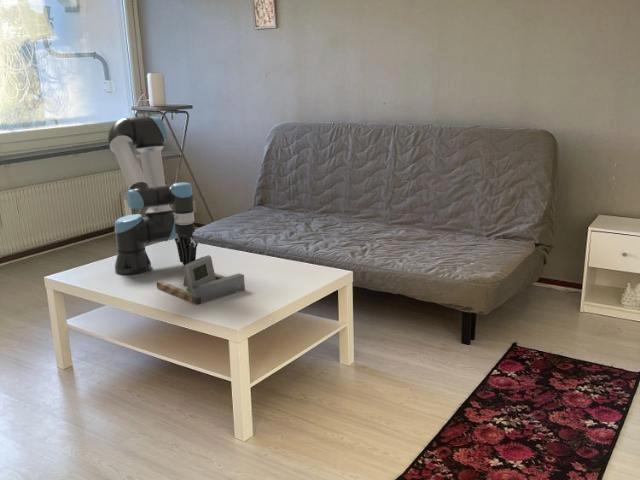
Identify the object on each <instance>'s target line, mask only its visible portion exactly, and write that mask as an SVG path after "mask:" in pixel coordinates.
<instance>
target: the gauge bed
mask: <svg viewBox="0 0 640 480" xmlns="http://www.w3.org/2000/svg"><path fill="white" fill-rule="evenodd" d="M215 277H216V280H218V279H221V278H225V277H226V276H224V275H221V274H218V273H215ZM242 286H243V285H242ZM156 288H157V289H158V290H161V291H163V292H166V293H168V294H169V295H170V294H171V295H174V296H175V297H178V298H179V299H183V300H185V301H187V302H189V303H192V304H195V305H196V304H197V305H200V304H201V303H200V302H201V298H200V297H198V298H195V297H193V298H192V295H191V292H189V290H185V289H184V288H180V287H178V286H175V285H173V284H170V283H168V282H166V281H163V280H158V281H156ZM243 289H244V288H242V291H245V290H246V288H245V289H244V290H243ZM192 299H193V300H194V299H195V300H196V301H195V300H194V301H193V300H192ZM198 299H199V300H198ZM199 301H200V302H199Z"/></svg>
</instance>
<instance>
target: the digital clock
mask: <svg viewBox="0 0 640 480" xmlns="http://www.w3.org/2000/svg"><path fill="white" fill-rule="evenodd" d="M183 272H184V276H183V286H184V287H186V288H187V291H189V292H191V287H193V286H197V285H200V284H204V283H207V282H211V281H214V280H216V277H215V268H214V264H213V259H212V256H211V255H209V254H208V255H205V256H202V257H198V258H196V260H194V261H192V262H190V263H188V264H186V265H183Z"/></svg>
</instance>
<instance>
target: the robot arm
mask: <svg viewBox="0 0 640 480" xmlns="http://www.w3.org/2000/svg"><path fill="white" fill-rule="evenodd" d="M167 133H168V132H167V129H166V125H165V123H164V121H163V120H162V119H161V118H160V117H159V116H152V115H151V116H150V115H148V116H138V117H123V118H120V119H118V120H117V121H115V122H114V123H113V124H112V125H111V127H110V128H109V131H108V134H107V143H108V146H109V148H110V151H111V152H112V153H114V155H115V157H116V160H117V162H118V166H119V168H120V170H121V174H122V176H123V178H124V180H125V182H126V185H127V188H128V190H127V191H126V193H125V195H126V196H125V199H126V203H127V206H128V208H129V209H131V210H138V209H140V210H141V209H144V208H145V209H146V208H147V210H146V211H145V216H143V215H142V214H140V213H136V214H128V215H124V216H121V217H119V218H118V219H116V221H115V222H114V234H115V242H116V250H117V255H116V258H115V259H116V260H115V264H114V271H115V273H116V274H119V275H136V274H142V273H145V272H147V271H150V270H151V269H152V262H151V260H150V258H149V255H148V252H147V251H146V245H148V244H156V243H161V242H169V241H172V240H174V241H175V244H176V249H177V253H178V258H179V262H180V263H181V264H182V265H183V266H184V265H186V264H188V263H190V262H192V261H194V260H196V259H197V248H198V246H199V245H198V242H197V241H195V240H194V236H193V234H194V233H195V232H196V227H195V213H194V212H195V211H194V199H193V194H194V192H193V191H194V190H193V187H192V184H191V183H190V182H185V181H184V182H181V181H180V182H175V183H168V184H166V180H165V179H166V178H165V173H164V165H163V159H162V150H163V148H164V144H165V143H167V140H168V134H167ZM133 146H135V149H136V151H137V152H138V153H140V159H141V165H142V166H141V165H140V162H139V159H138V157H137V154H136V151H135V149H134V147H133ZM170 205H172V207H173V209H172V208H171V207H170Z"/></svg>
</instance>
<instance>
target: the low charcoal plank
mask: <svg viewBox="0 0 640 480" xmlns="http://www.w3.org/2000/svg"><path fill="white" fill-rule="evenodd" d="M224 277H225V278H221V279H218V280H214V281H211V282H207V283H204V284H200V285H197V286H193V287H191V295H192V298H193V297H195V298H198V297H200V298H201V302H200V301H199V302H200V304H205V303H206V302H210V301H213V300H217V299H219V298H223V297H226V296H229V295H231V294H235V293H239V292H242V291H245V290H246V285H245V274H243V273H239V272H238V273H236V274H233V275H228V276H224ZM242 285H243V286H242ZM242 288H244V289H245V290H244V289H243V290H242ZM192 300H193V299H192ZM194 300H195V299H194ZM194 300H193V301H194ZM198 300H199V299H198ZM195 301H196V300H195ZM195 305H198V304H195Z"/></svg>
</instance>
